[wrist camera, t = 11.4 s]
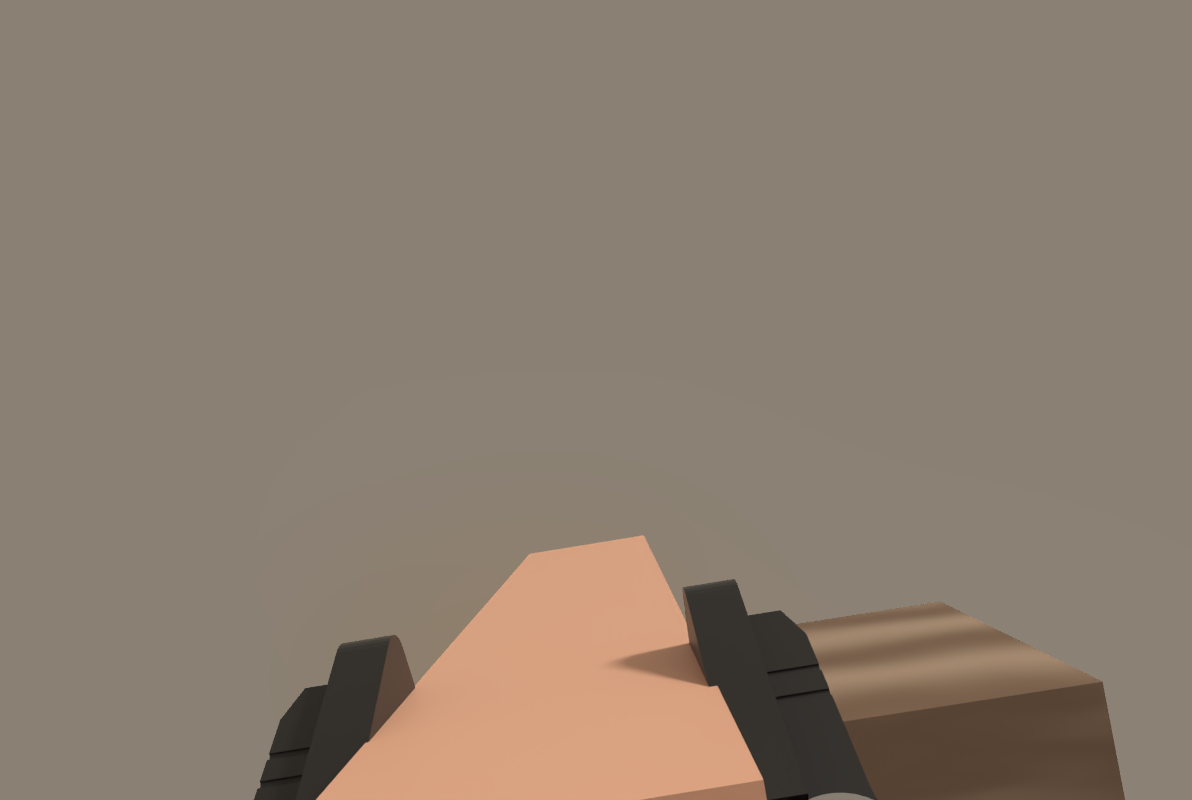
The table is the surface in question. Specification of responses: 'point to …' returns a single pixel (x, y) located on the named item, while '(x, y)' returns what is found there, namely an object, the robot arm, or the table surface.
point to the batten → (563, 698)
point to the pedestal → (964, 709)
